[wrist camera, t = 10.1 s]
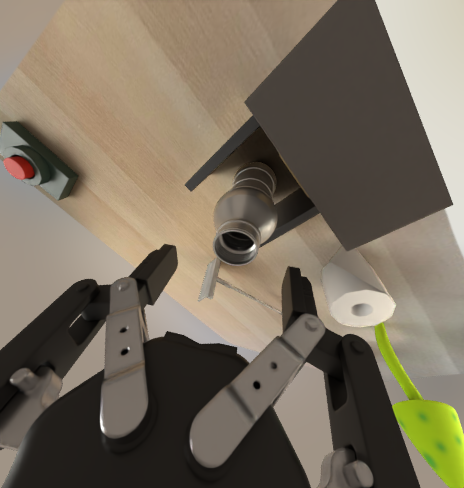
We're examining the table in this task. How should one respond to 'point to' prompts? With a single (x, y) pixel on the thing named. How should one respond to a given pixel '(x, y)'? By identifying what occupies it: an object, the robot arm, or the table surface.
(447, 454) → the mushroom
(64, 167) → the control pad
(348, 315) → the toilet tissue
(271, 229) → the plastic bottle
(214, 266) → the brush
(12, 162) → the stop button
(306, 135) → the dark box with flaps
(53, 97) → the table surface
